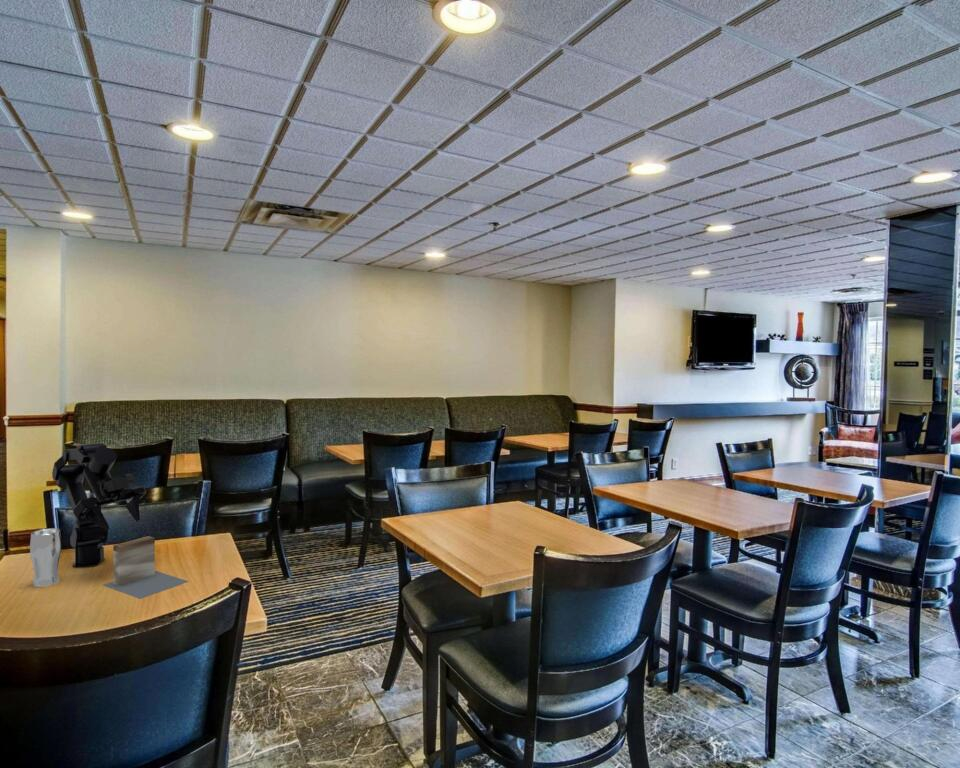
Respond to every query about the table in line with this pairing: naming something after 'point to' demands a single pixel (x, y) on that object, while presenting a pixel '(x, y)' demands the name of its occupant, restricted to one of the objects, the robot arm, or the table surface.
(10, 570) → the table surface
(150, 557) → the grey-brown flat block
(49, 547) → the beer glass
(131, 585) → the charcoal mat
